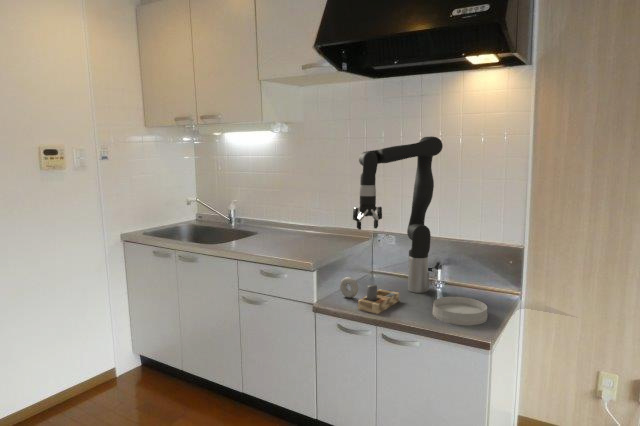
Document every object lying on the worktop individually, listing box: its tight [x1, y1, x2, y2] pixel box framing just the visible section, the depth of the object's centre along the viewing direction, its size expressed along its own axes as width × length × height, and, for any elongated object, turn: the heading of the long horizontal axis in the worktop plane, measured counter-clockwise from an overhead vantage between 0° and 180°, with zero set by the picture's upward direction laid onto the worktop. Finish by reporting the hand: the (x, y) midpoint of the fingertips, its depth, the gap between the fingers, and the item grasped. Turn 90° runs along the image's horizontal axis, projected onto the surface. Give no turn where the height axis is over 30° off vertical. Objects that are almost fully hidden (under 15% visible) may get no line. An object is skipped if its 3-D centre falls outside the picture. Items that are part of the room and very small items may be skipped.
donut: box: [339, 276, 359, 299], centre depth 220 cm, size 10×4×10 cm, turn 50°
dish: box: [432, 296, 488, 326], centre depth 196 cm, size 22×22×5 cm
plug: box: [366, 283, 378, 302], centre depth 206 cm, size 4×4×10 cm
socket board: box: [357, 288, 400, 315], centre depth 209 cm, size 20×10×4 cm, turn 145°
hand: (367, 228), depth 221 cm, fingers open, 8 cm apart
